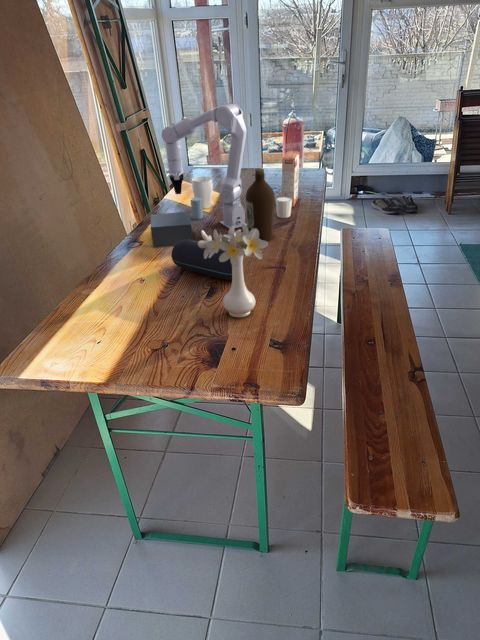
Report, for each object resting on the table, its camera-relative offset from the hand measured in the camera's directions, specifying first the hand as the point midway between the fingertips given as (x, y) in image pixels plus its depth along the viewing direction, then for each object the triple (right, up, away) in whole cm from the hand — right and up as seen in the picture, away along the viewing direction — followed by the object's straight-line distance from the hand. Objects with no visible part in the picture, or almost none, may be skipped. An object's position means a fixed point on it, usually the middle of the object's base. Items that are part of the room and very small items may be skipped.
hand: (178, 193), depth 203 cm
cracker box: (+47, +2, +21) cm, 52 cm away
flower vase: (+27, -54, -62) cm, 87 cm away
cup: (+8, 0, +19) cm, 20 cm away
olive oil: (+34, -21, -13) cm, 42 cm away
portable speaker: (+17, -39, -40) cm, 59 cm away
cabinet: (0, -22, -14) cm, 26 cm away
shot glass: (+44, -7, +7) cm, 45 cm away
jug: (+7, -8, +6) cm, 13 cm away
